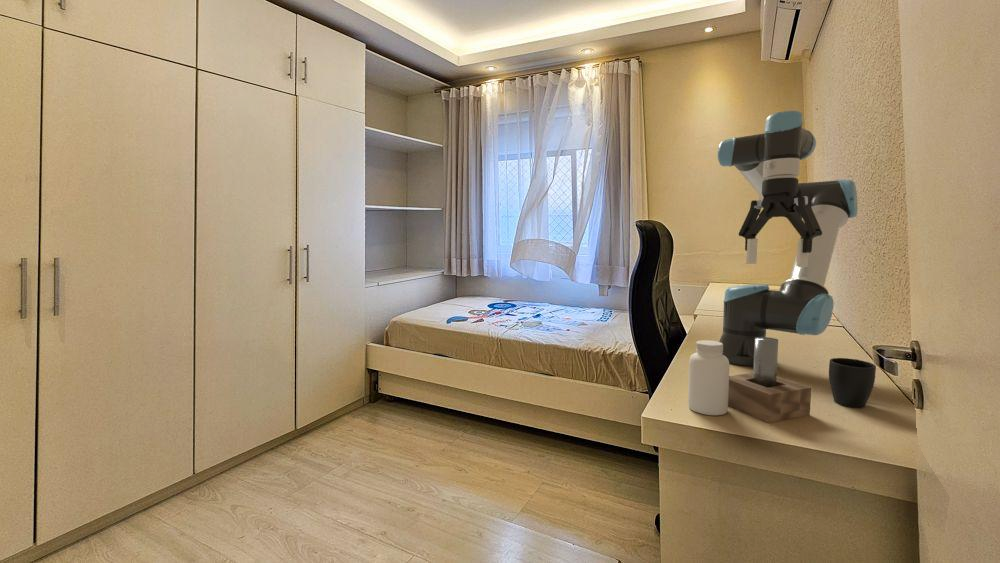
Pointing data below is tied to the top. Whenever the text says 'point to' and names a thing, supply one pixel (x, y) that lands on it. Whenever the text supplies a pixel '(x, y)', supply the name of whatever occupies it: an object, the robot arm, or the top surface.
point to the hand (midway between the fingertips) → (775, 265)
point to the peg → (765, 361)
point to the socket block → (769, 398)
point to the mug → (851, 381)
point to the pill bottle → (708, 379)
